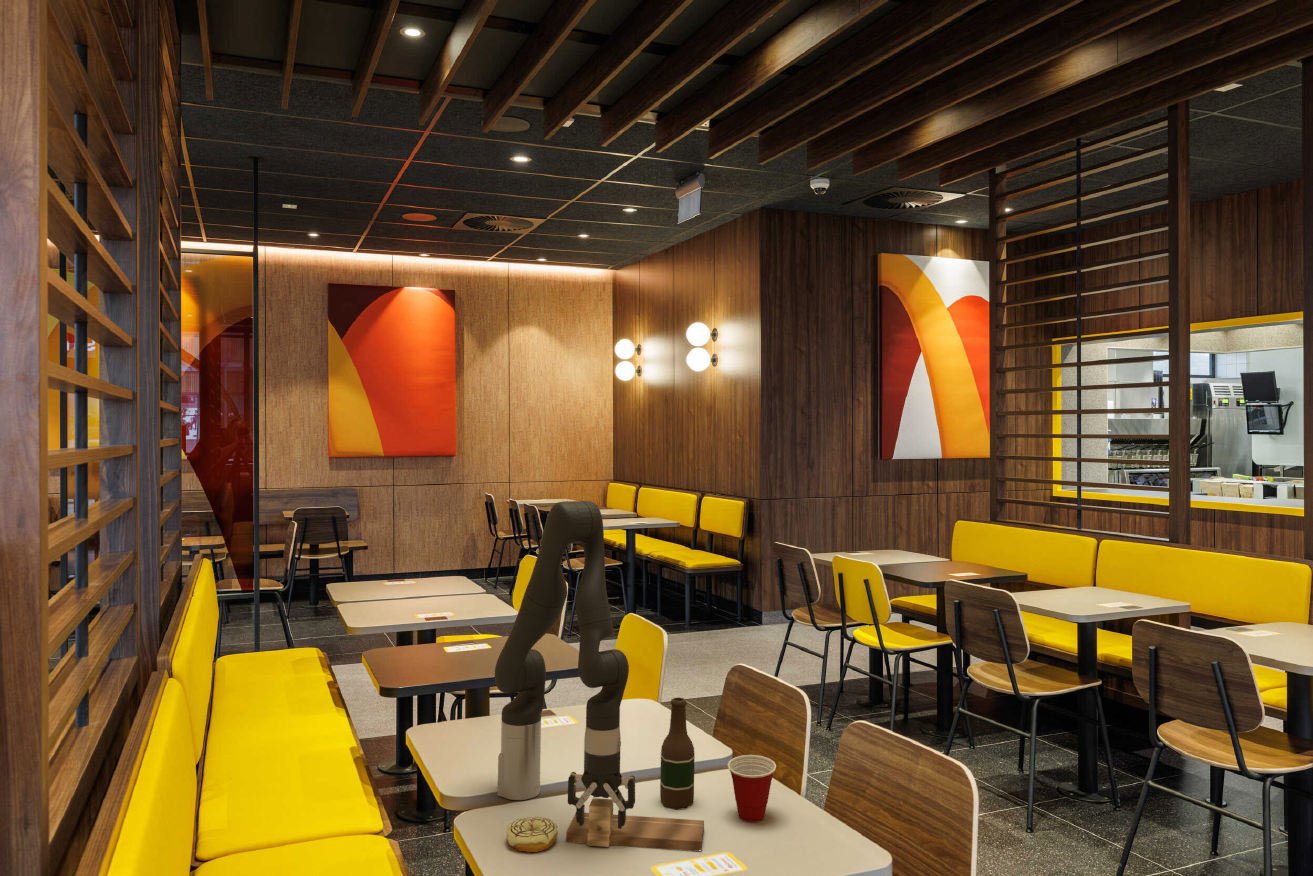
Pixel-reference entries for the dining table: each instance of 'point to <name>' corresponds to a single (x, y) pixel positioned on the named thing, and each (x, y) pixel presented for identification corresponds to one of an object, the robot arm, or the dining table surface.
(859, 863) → the dining table surface
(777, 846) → the dining table surface
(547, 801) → the dining table surface
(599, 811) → the block
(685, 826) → the board
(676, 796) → the beer bottle
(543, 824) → the decorated donut
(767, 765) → the plastic cup
